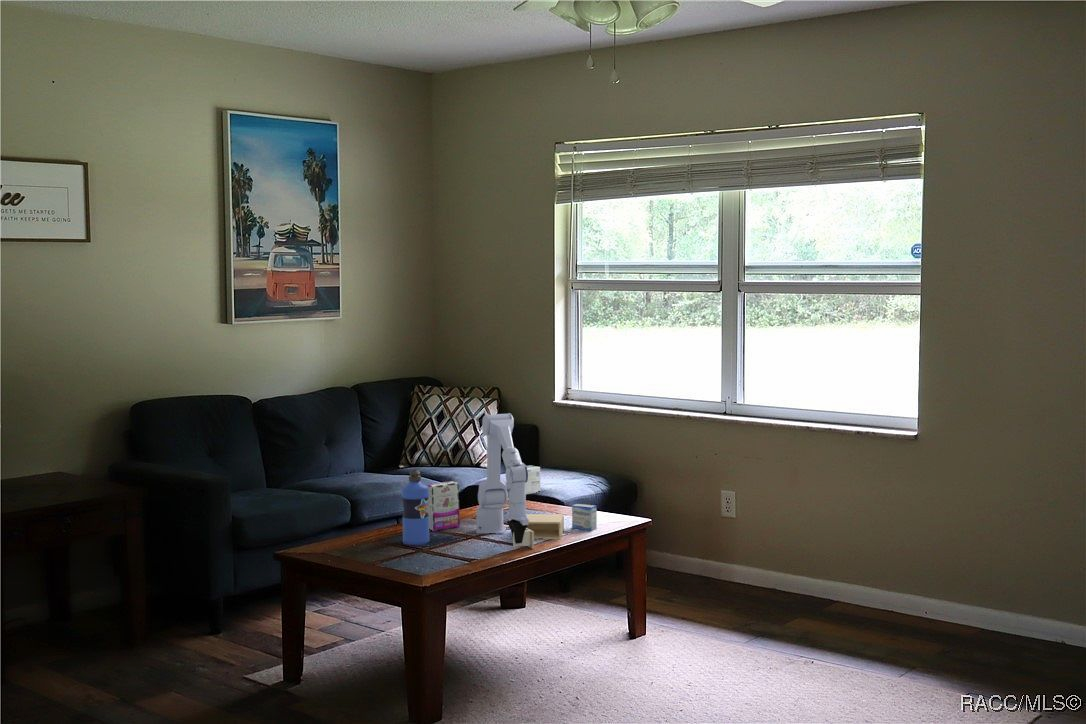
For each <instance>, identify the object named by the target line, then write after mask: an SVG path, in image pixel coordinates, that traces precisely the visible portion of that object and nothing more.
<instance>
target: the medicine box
mask: <svg viewBox="0 0 1086 724" xmlns="http://www.w3.org/2000/svg"><path fill="white" fill-rule="evenodd" d="M571 508H572V509H571V510H572V511H571V529H572V530H574V529H578V530H577V531H585V530H587V531H588V532H592V531H595V530H597V527H598V526H597V522H598V521H597V520H598V519H597V505H593V504H592V505H591V504H584V503H575V504H572V506H571ZM587 531H586V532H587Z"/></svg>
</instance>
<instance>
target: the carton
mask: <svg viewBox="0 0 1086 724" xmlns="http://www.w3.org/2000/svg"><path fill="white" fill-rule="evenodd" d="M526 515H527V518H528V519H529V525H528V526H527V527H526V528H528V529H530V530H532V531H534V538H543V539H542V540H561V539H562V537H563V535H562V534H564V532H565V527H564V526H565V523H564V521H565V517H564V515H565V514H548V513H547V514H545V513H543V514H542V513H540V514H539V513H536V514H535V513H526ZM563 531H564V532H563ZM561 536H562V537H561Z"/></svg>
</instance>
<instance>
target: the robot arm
mask: <svg viewBox="0 0 1086 724" xmlns="http://www.w3.org/2000/svg"><path fill="white" fill-rule="evenodd" d="M514 421H515V420H514V417H513V415H512V413H510V412H508V413H497V414H495V413H493V414H487V413H486V414H484V416H483V417H482V421H481V422H482V423H481V424H482V435H483V436H486V443H487V444H486V449H487V450H486V479H484V481H483V482H481V483H480V484H479V486H478V492H477V501H478V504H479V506H477V507H476V515H475V516H476V534H489V533H496V534H499V535H500V534H504V532H505V530H507V528H506V527H504V508H505V507H506V505H507V503H508V510H506V515H505V519H510V520H507V521H506V524H507V526H508V527H509V529H510V532H511V538H512V539H513V532H514V538H515V543H516V544H518V543H522V541H523V536H524V532H525V530H526V527H527V526H528V525H529V519H528V518H527V515H526V514H527V500H526V499H527V498H526V497H527V494H526V483H525V482H527V481H528V470H527V467H526V466H527V465H526V464H525V463H524V462H522V458H521V455H520V452H519V450H518V449H517V448H516V447H515V446H514V442H513V437H512V433H513V429H514V426H515V424H514V423H515V422H514ZM501 449H503V450H501ZM501 451H502V453H501ZM501 457H502V458H501ZM501 459H502V460H503V464H504V467H505V480H506V482H504V481H503V480H501Z"/></svg>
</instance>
